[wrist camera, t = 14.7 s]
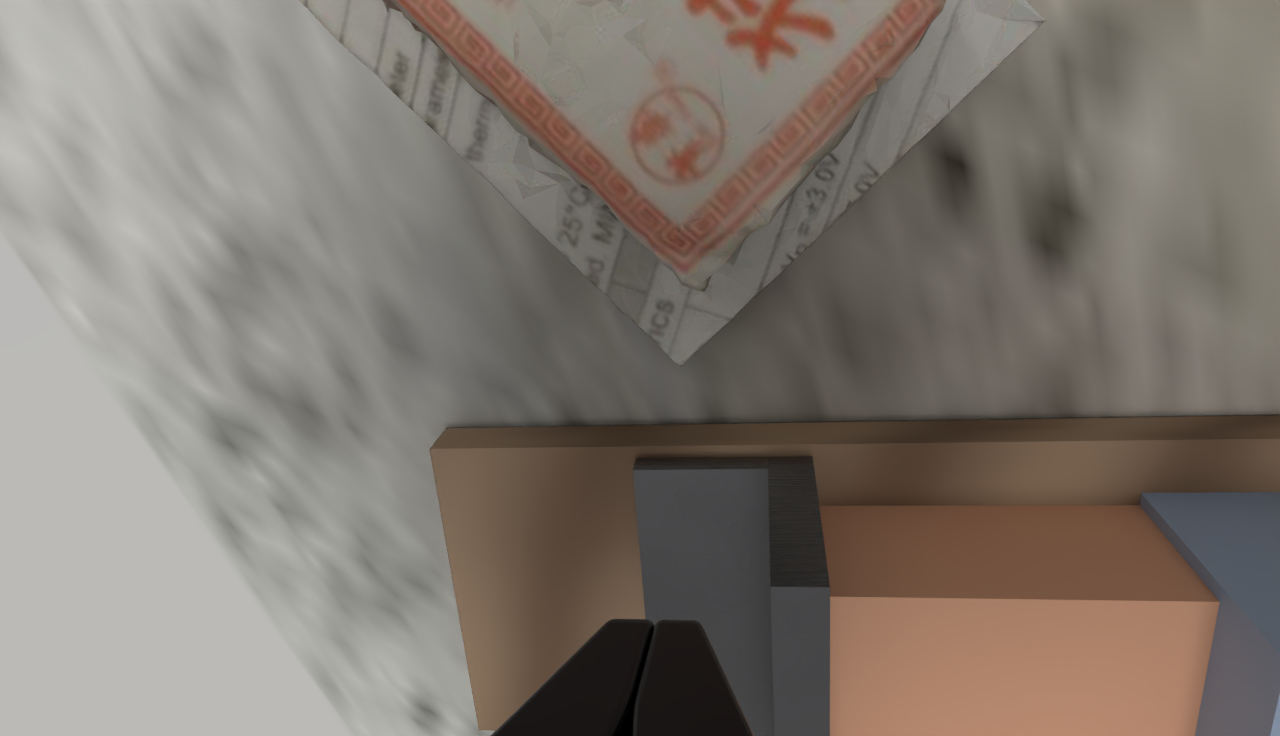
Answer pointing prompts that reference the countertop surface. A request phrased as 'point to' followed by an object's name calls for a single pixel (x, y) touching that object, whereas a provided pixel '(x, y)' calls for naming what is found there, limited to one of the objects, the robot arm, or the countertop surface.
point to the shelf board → (842, 454)
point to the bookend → (744, 577)
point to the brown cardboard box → (1012, 622)
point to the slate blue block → (1233, 600)
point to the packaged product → (680, 122)
